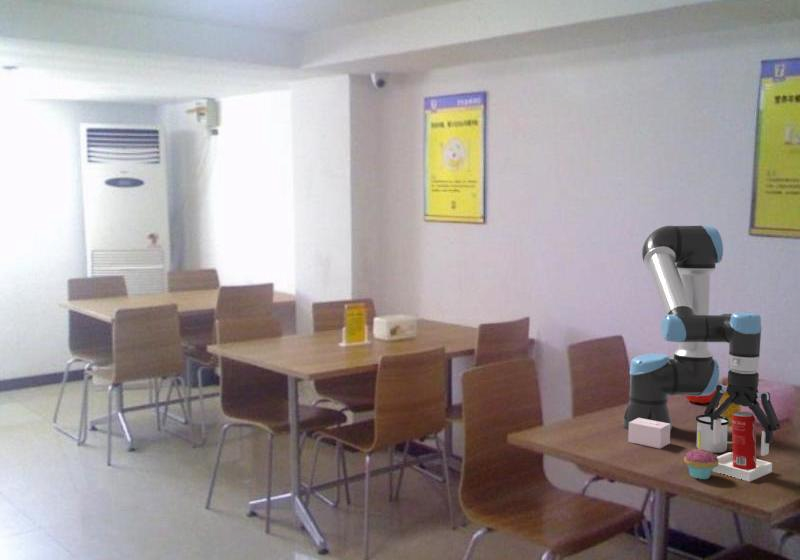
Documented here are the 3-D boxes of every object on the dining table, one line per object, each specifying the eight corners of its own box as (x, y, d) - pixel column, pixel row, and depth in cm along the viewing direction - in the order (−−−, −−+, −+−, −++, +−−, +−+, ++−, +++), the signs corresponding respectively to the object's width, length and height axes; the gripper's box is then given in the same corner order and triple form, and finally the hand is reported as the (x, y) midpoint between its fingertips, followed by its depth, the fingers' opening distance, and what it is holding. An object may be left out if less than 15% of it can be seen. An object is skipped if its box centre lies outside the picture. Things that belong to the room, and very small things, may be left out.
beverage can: (757, 473, 211) (760, 417, 209) (730, 470, 213) (733, 415, 211) (754, 466, 216) (757, 411, 215) (728, 463, 218) (731, 409, 217)
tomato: (687, 405, 285) (688, 384, 284) (681, 397, 296) (682, 377, 295) (718, 406, 283) (719, 385, 282) (711, 399, 294) (712, 379, 293)
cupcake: (678, 471, 215) (679, 427, 214) (708, 470, 216) (710, 427, 215) (692, 482, 206) (694, 437, 205) (723, 481, 207) (725, 436, 206)
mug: (696, 452, 231) (697, 421, 230) (692, 442, 240) (693, 413, 240) (740, 455, 228) (742, 424, 227) (735, 445, 237) (736, 416, 237)
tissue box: (628, 441, 241) (628, 421, 241) (638, 436, 246) (638, 416, 246) (660, 448, 235) (660, 427, 234) (669, 443, 240) (670, 422, 239)
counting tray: (706, 469, 216) (706, 460, 216) (729, 460, 224) (729, 452, 224) (749, 481, 207) (749, 472, 207) (771, 472, 215) (772, 463, 214)
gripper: (693, 365, 220) (690, 440, 222) (783, 380, 201) (779, 463, 203) (707, 361, 225) (704, 435, 227) (797, 376, 205) (793, 457, 208)
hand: (739, 448), depth 215 cm, fingers open, 13 cm apart
